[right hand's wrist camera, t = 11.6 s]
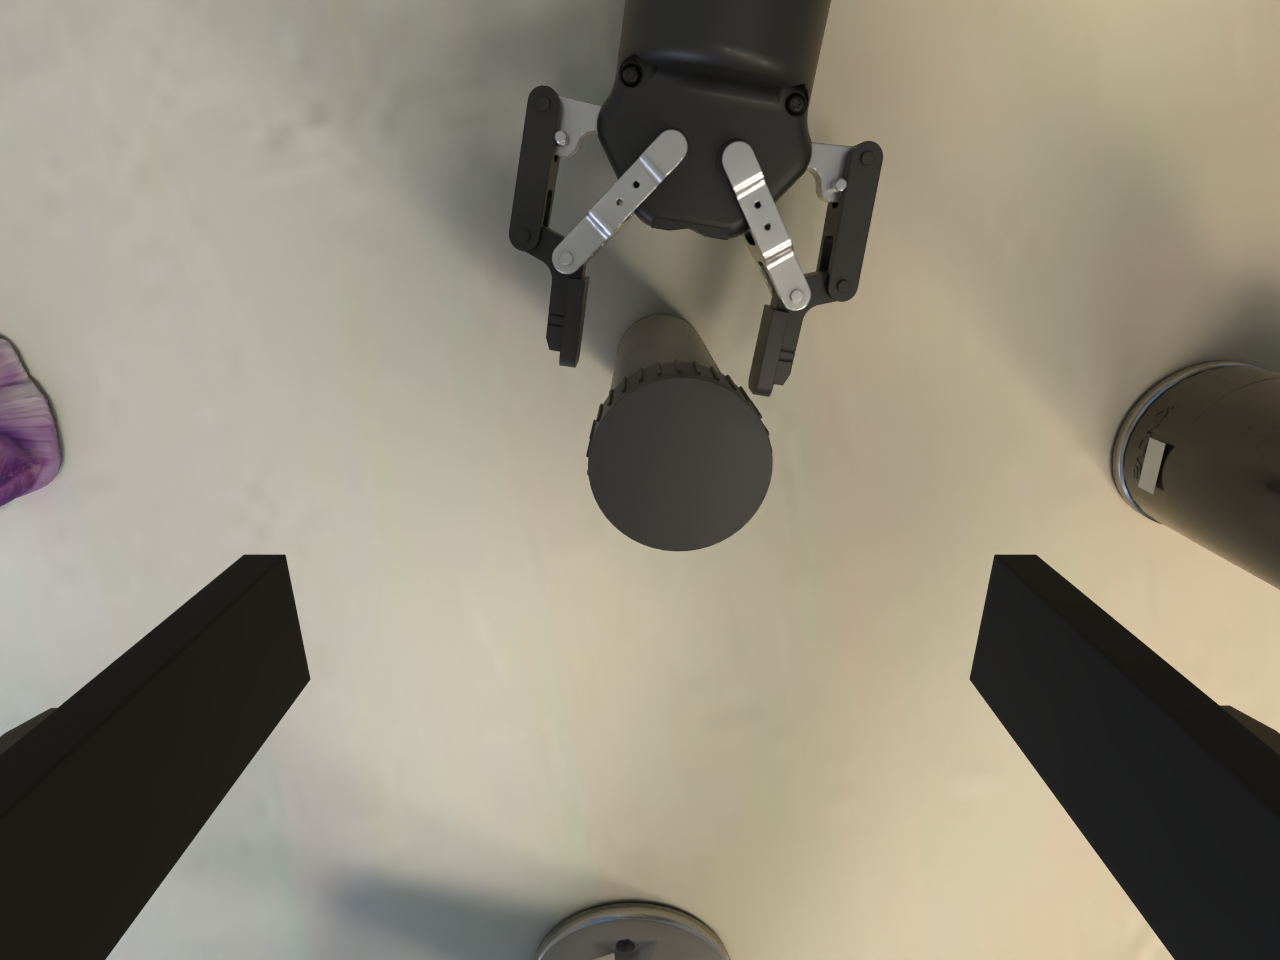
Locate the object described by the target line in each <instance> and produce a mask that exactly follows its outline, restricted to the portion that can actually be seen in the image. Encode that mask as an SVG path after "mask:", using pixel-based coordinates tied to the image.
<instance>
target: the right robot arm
mask: <svg viewBox="0 0 1280 960" xmlns="http://www.w3.org/2000/svg"><path fill="white" fill-rule="evenodd" d="M309 681H310V675H309V670H308V665H307V660H306V655H305V650H304V645H303V640H302V635H301V630H300V625H299V620H298V615H297V610H296V605H295V600H294V595H293V590H292V585H291V580H290V575H289V570H288V565H287V560H286V555H243V556H242V557H241V558H239V559H238V560H237V561H236V562H235V563H233V564H232V565H231V566H230V567H229V568H227V569H226V570H225V571H224V572H222V573H221V574H220V575H219V576H218V577H216V578H215V579H214V580H213V581H211V582H210V583H209V584H208V585H207V586H205V587H204V588H203V589H202V590H201V591H199V592H198V593H197V594H196V595H194V596H193V597H192V598H191V599H190V600H188V601H187V602H186V603H185V604H184V605H182V606H181V607H180V608H179V609H177V610H176V611H175V612H174V613H173V614H171V615H170V616H169V617H168V618H167V619H165V620H164V621H163V622H162V623H160V624H159V625H158V626H157V627H156V628H154V629H153V630H152V631H151V632H150V633H148V634H147V635H146V636H145V637H143V638H142V639H141V640H140V641H139V642H137V643H136V644H135V645H134V646H132V647H131V648H130V649H129V650H128V651H126V652H125V653H124V654H123V655H122V656H120V657H119V658H118V659H117V660H115V661H114V662H113V663H112V664H111V665H109V666H108V667H107V668H106V669H105V670H103V671H102V672H101V673H100V674H98V675H97V676H96V677H95V678H94V679H92V680H91V681H90V682H89V683H88V684H86V685H85V686H84V687H83V688H81V689H80V690H79V691H78V692H77V693H75V694H74V695H73V696H72V697H70V698H69V699H68V700H67V701H66V702H64V703H63V704H62V705H61V706H60V707H58V708H50V709H49V710H47V711H45V712H43V713H41V714H39V715H38V716H36V717H34V718H32V719H30V720H28V721H27V722H25V723H23V724H21V725H19V726H17V727H16V728H14V729H12V730H10V731H8V732H6V733H5V734H3V735H2V736H1V737H0V960H105V959H106V958H107V957H108V955H109V954H110V953H111V951H112V950H113V948H114V947H115V946H116V944H117V943H118V942H119V940H120V939H121V938H122V936H123V935H124V933H125V932H126V931H127V929H128V928H129V927H130V925H131V924H132V922H133V921H134V920H135V918H136V917H137V916H138V914H139V913H140V912H141V910H142V909H143V907H144V906H145V905H146V903H147V902H148V901H149V899H150V898H151V897H152V895H153V894H154V892H155V891H156V890H157V888H158V887H159V886H160V884H161V883H162V881H163V880H164V879H165V877H166V876H167V875H168V873H169V872H170V871H171V869H172V868H173V866H174V865H175V864H176V862H177V861H178V860H179V858H180V857H181V856H182V854H183V853H184V851H185V850H186V849H187V847H188V846H189V845H190V843H191V842H192V840H193V839H194V838H195V836H196V835H197V834H198V832H199V831H200V830H201V828H202V827H203V825H204V824H205V823H206V821H207V820H208V819H209V817H210V816H211V815H212V813H213V812H214V810H215V809H216V808H217V806H218V805H219V804H220V802H221V801H222V799H223V798H224V797H225V795H226V794H227V793H228V791H229V790H230V789H231V787H232V786H233V784H234V783H235V782H236V780H237V779H238V778H239V776H240V775H241V774H242V772H243V771H244V769H245V768H246V767H247V765H248V764H249V763H250V761H251V760H252V758H253V757H254V756H255V754H256V753H257V752H258V750H259V749H260V748H261V746H262V745H263V743H264V742H265V741H266V739H267V738H268V737H269V735H270V734H271V733H272V731H273V730H274V728H275V727H276V726H277V724H278V723H279V722H280V720H281V719H282V717H283V716H284V715H285V713H286V712H287V711H288V709H289V708H290V707H291V705H292V704H293V702H294V701H295V700H296V698H297V697H298V696H299V694H300V693H301V692H302V690H303V689H304V687H305V686H306V685H307V683H308V682H309ZM970 681H971V682H972V683H973V685H974V686H975V687H976V689H977V690H978V692H979V693H980V694H981V696H982V697H983V698H984V700H985V701H986V702H987V704H988V705H989V707H990V708H991V709H992V711H993V712H994V713H995V715H996V716H997V717H998V719H999V720H1000V722H1001V723H1002V724H1003V726H1004V727H1005V728H1006V730H1007V731H1008V733H1009V734H1010V735H1011V737H1012V738H1013V739H1014V741H1015V742H1016V743H1017V745H1018V746H1019V748H1020V749H1021V750H1022V752H1023V753H1024V754H1025V756H1026V757H1027V758H1028V760H1029V761H1030V763H1031V764H1032V765H1033V767H1034V768H1035V769H1036V771H1037V772H1038V774H1039V775H1040V776H1041V778H1042V779H1043V780H1044V782H1045V783H1046V784H1047V786H1048V787H1049V789H1050V790H1051V791H1052V793H1053V794H1054V795H1055V797H1056V798H1057V799H1058V801H1059V802H1060V804H1061V805H1062V806H1063V808H1064V809H1065V810H1066V812H1067V813H1068V815H1069V816H1070V817H1071V819H1072V820H1073V821H1074V823H1075V824H1076V825H1077V827H1078V828H1079V830H1080V831H1081V832H1082V834H1083V835H1084V836H1085V838H1086V839H1087V840H1088V842H1089V843H1090V845H1091V846H1092V847H1093V849H1094V850H1095V851H1096V853H1097V854H1098V856H1099V857H1100V858H1101V860H1102V861H1103V862H1104V864H1105V865H1106V866H1107V868H1108V869H1109V871H1110V872H1111V873H1112V875H1113V876H1114V877H1115V879H1116V880H1117V881H1118V883H1119V884H1120V886H1121V887H1122V888H1123V890H1124V891H1125V892H1126V894H1127V895H1128V897H1129V898H1130V899H1131V901H1132V902H1133V903H1134V905H1135V906H1136V907H1137V909H1138V910H1139V912H1140V913H1141V914H1142V916H1143V917H1144V918H1145V920H1146V921H1147V922H1148V924H1149V925H1150V927H1151V928H1152V929H1153V931H1154V932H1155V933H1156V935H1157V936H1158V938H1159V939H1160V940H1161V942H1162V943H1163V944H1164V946H1165V947H1166V948H1167V950H1168V951H1169V953H1170V954H1171V955H1172V957H1173V958H1174V959H1175V960H1280V734H1279V733H1278V732H1277V731H1275V730H1274V729H1272V728H1270V727H1268V726H1266V725H1264V724H1263V723H1261V722H1259V721H1257V720H1255V719H1253V718H1251V717H1250V716H1248V715H1246V714H1244V713H1242V712H1240V711H1239V710H1237V709H1235V708H1233V707H1231V706H1219V705H1218V704H1217V703H1216V702H1214V701H1213V700H1212V699H1211V698H1210V697H1208V696H1207V695H1206V694H1205V693H1203V692H1202V691H1201V690H1200V689H1199V688H1197V687H1196V686H1195V685H1194V684H1192V683H1191V682H1190V681H1189V680H1188V679H1186V678H1185V677H1184V676H1183V675H1182V674H1180V673H1179V672H1178V671H1177V670H1175V669H1174V668H1173V667H1172V666H1171V665H1169V664H1168V663H1167V662H1166V661H1165V660H1163V659H1162V658H1161V657H1160V656H1158V655H1157V654H1156V653H1155V652H1154V651H1152V650H1151V649H1150V648H1149V647H1148V646H1146V645H1145V644H1144V643H1143V642H1141V641H1140V640H1139V639H1138V638H1137V637H1135V636H1134V635H1133V634H1132V633H1130V632H1129V631H1128V630H1127V629H1126V628H1124V627H1123V626H1122V625H1121V624H1120V623H1118V622H1117V621H1116V620H1115V619H1113V618H1112V617H1111V616H1110V615H1109V614H1107V613H1106V612H1105V611H1104V610H1103V609H1101V608H1100V607H1099V606H1098V605H1096V604H1095V603H1094V602H1093V601H1092V600H1090V599H1089V598H1088V597H1087V596H1086V595H1084V594H1083V593H1082V592H1081V591H1079V590H1078V589H1077V588H1076V587H1075V586H1073V585H1072V584H1071V583H1070V582H1069V581H1067V580H1066V579H1065V578H1064V577H1062V576H1061V575H1060V574H1059V573H1058V572H1056V571H1055V570H1054V569H1053V568H1051V567H1050V566H1049V565H1048V564H1047V563H1045V562H1044V561H1043V560H1042V559H1041V558H1039V557H1038V556H1037V555H994V560H993V565H992V570H991V575H990V580H989V585H988V590H987V595H986V600H985V605H984V610H983V615H982V620H981V625H980V630H979V635H978V640H977V645H976V650H975V655H974V660H973V665H972V670H971V675H970ZM534 960H729V957H728V954H727V951H726V949H725V948H724V946H723V944H722V943H721V941H720V940H719V938H718V937H717V936H716V935H715V934H714V933H713V932H712V931H711V930H710V929H709V928H708V927H706V926H705V925H704V924H702V923H701V922H699V921H698V920H696V919H694V918H693V917H691V916H689V915H687V914H684V913H682V912H679V911H677V910H674V909H670V908H667V907H663V906H658V905H652V904H644V903H620V904H611V905H605V906H600V907H596V908H593V909H590V910H586V911H584V912H581V913H579V914H577V915H575V916H573V917H571V918H569V919H567V920H566V921H564V922H562V923H561V924H560V925H558V926H557V927H556V928H554V929H553V930H552V931H551V932H550V933H549V934H548V935H547V937H546V938H545V939H544V940H543V942H542V943H541V945H540V946H539V948H538V950H537V952H536V955H535V958H534Z"/></svg>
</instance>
